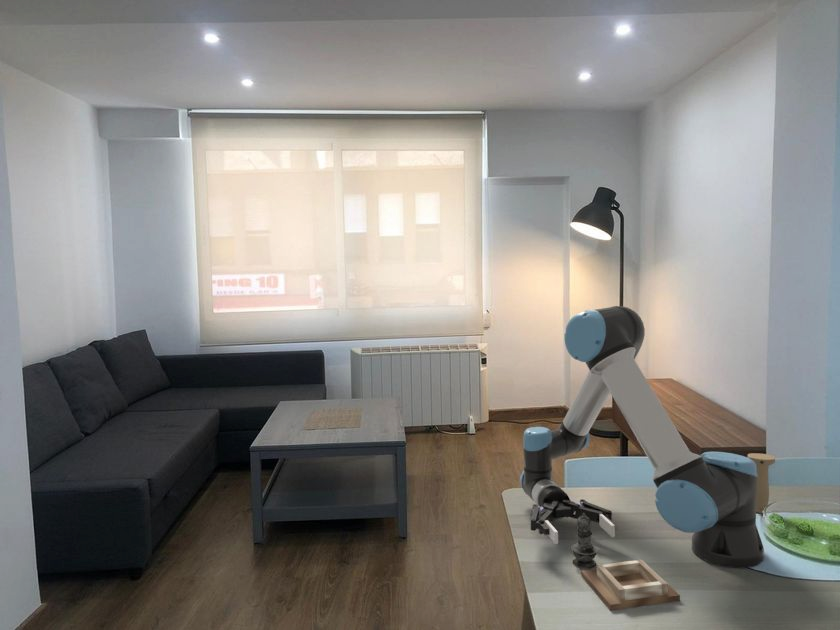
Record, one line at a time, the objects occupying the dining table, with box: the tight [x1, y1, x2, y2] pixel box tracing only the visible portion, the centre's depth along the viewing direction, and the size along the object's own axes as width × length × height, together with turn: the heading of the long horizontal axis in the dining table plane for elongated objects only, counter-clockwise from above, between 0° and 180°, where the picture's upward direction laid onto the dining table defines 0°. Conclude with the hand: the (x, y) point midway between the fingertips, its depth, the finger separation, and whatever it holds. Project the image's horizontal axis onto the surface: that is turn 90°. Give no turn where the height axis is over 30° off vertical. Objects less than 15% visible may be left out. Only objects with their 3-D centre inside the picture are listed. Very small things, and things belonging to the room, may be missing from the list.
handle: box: [746, 452, 776, 514], centre depth 174 cm, size 5×6×15 cm
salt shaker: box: [570, 513, 599, 570], centre depth 151 cm, size 6×6×12 cm
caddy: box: [580, 559, 681, 612], centre depth 140 cm, size 15×14×4 cm
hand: (585, 534), depth 150 cm, fingers open, 13 cm apart
